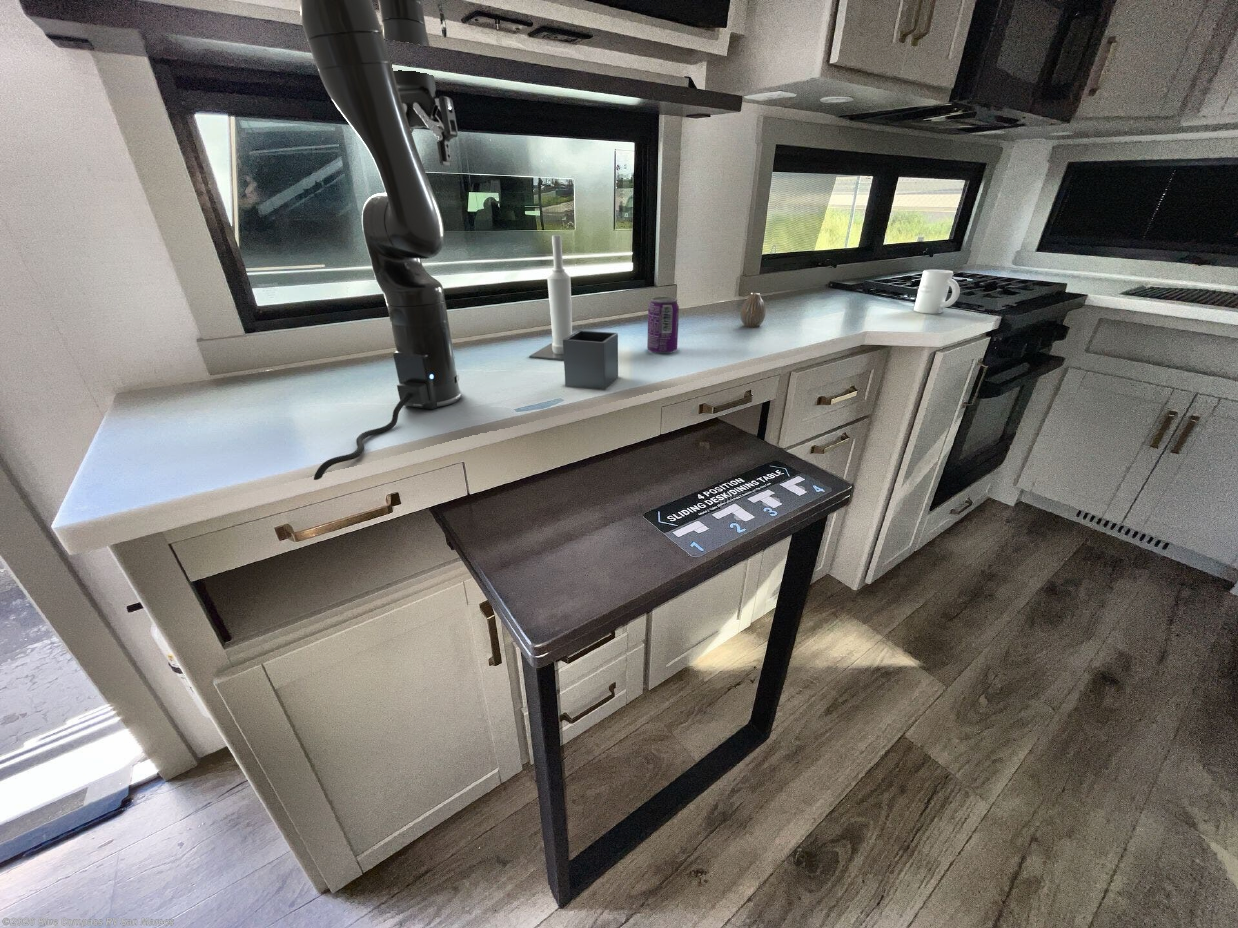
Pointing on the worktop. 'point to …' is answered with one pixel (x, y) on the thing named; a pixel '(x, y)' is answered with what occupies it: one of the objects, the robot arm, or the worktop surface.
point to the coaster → (547, 354)
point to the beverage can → (663, 325)
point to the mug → (936, 291)
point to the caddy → (591, 359)
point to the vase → (753, 311)
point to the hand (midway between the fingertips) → (426, 166)
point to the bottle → (559, 298)
